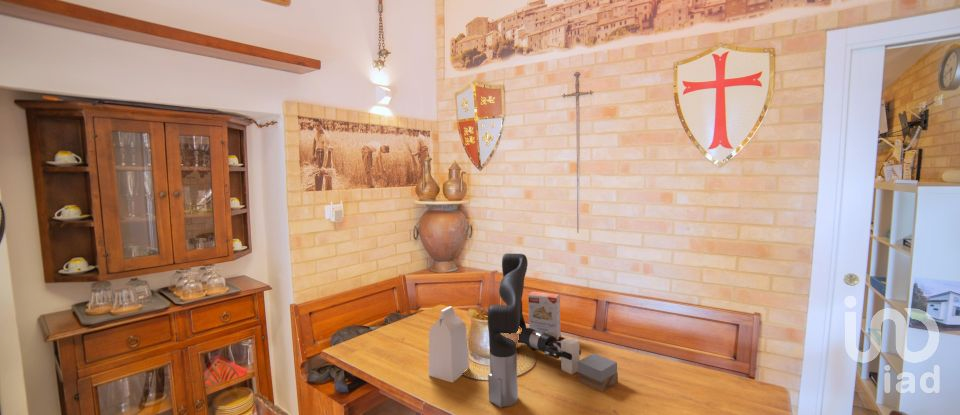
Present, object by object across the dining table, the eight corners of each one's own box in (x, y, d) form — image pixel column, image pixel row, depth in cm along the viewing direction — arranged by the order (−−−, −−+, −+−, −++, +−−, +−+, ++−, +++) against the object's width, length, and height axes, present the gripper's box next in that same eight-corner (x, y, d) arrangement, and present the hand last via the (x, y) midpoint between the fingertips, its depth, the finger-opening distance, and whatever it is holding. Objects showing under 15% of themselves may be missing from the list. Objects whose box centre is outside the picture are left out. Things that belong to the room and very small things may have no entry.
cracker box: (528, 336, 187) (527, 294, 186) (533, 332, 192) (532, 290, 191) (557, 341, 181) (556, 297, 179) (560, 336, 186) (560, 293, 184)
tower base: (602, 393, 138) (602, 382, 138) (578, 382, 146) (578, 372, 145) (617, 382, 144) (617, 372, 144) (594, 373, 152) (594, 363, 152)
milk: (446, 362, 164) (443, 302, 162) (469, 368, 158) (467, 306, 156) (428, 375, 154) (425, 311, 152) (452, 382, 148) (449, 315, 146)
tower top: (601, 382, 138) (601, 371, 137) (577, 371, 145) (577, 361, 145) (617, 372, 144) (617, 362, 144) (594, 363, 152) (593, 353, 151)
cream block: (571, 374, 151) (571, 344, 150) (561, 369, 155) (560, 340, 154) (579, 370, 154) (579, 340, 153) (569, 365, 158) (568, 336, 157)
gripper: (530, 338, 160) (564, 351, 147) (553, 328, 169) (586, 340, 156) (531, 355, 160) (564, 370, 147) (553, 345, 170) (587, 358, 157)
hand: (575, 354), depth 152 cm, fingers closed on cream block, 5 cm apart
